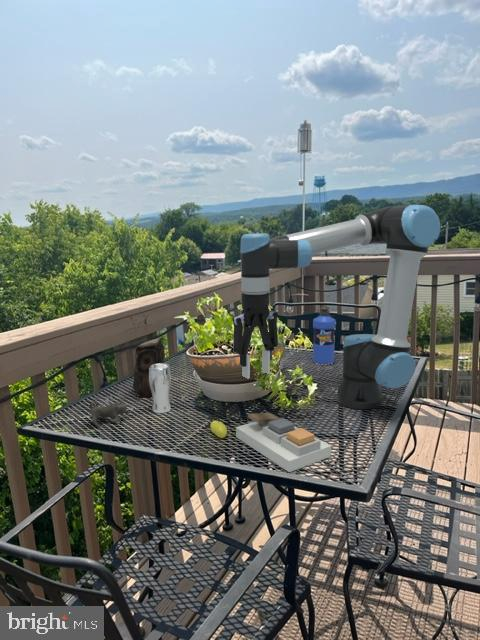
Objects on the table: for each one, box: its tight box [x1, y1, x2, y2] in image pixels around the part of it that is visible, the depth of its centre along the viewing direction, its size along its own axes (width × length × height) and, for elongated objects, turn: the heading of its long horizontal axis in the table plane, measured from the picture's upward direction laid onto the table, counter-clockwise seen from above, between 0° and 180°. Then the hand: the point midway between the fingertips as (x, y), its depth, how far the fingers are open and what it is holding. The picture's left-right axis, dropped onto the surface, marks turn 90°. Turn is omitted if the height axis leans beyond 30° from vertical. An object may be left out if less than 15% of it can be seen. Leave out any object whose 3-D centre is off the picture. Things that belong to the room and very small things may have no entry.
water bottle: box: [312, 305, 336, 364], centre depth 203 cm, size 9×9×25 cm
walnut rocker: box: [247, 412, 281, 423], centre depth 136 cm, size 8×5×1 cm, turn 124°
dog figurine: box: [89, 401, 130, 429], centre depth 148 cm, size 12×6×7 cm, turn 111°
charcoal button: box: [268, 417, 295, 435], centre depth 129 cm, size 5×5×2 cm
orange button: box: [287, 427, 316, 446], centre depth 123 cm, size 5×5×2 cm
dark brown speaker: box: [132, 336, 166, 399], centre depth 170 cm, size 13×13×20 cm
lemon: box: [210, 420, 228, 439], centre depth 138 cm, size 4×8×4 cm, turn 21°
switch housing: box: [235, 421, 332, 473], centre depth 130 cm, size 14×24×5 cm, turn 33°
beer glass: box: [149, 362, 172, 414], centre depth 156 cm, size 7×7×15 cm
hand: (256, 374), depth 132 cm, fingers open, 6 cm apart
